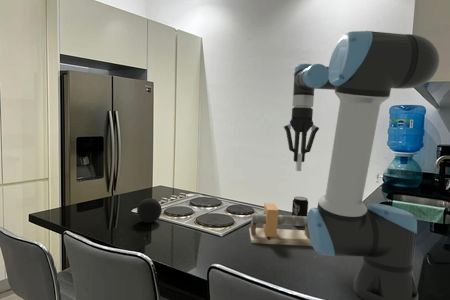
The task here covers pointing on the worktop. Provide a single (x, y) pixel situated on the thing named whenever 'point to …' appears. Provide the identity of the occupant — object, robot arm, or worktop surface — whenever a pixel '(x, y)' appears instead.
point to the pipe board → (281, 231)
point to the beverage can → (300, 207)
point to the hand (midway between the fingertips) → (298, 170)
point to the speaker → (149, 210)
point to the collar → (270, 220)
